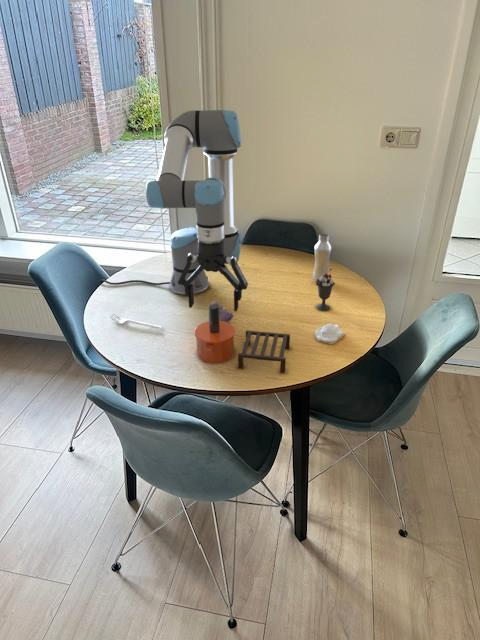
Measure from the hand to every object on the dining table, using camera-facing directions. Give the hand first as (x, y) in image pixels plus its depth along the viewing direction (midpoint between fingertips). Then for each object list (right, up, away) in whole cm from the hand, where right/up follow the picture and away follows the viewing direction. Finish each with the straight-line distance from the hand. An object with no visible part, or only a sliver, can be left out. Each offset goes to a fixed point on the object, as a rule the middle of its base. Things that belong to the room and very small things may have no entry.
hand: (213, 307), depth 142 cm
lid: (0, -8, +5) cm, 9 cm away
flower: (0, -6, +23) cm, 24 cm away
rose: (+37, -10, +16) cm, 42 cm away
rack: (+15, -15, +6) cm, 22 cm away
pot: (0, -14, +8) cm, 16 cm away
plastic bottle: (+40, +11, +51) cm, 66 cm away
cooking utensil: (-34, -4, +25) cm, 42 cm away
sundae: (+38, +1, +33) cm, 51 cm away
